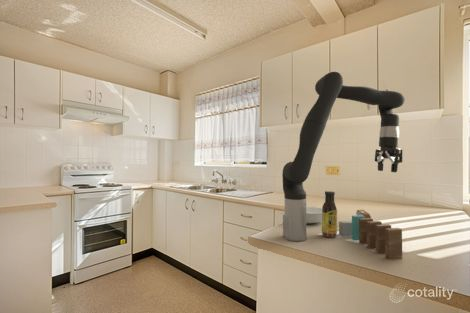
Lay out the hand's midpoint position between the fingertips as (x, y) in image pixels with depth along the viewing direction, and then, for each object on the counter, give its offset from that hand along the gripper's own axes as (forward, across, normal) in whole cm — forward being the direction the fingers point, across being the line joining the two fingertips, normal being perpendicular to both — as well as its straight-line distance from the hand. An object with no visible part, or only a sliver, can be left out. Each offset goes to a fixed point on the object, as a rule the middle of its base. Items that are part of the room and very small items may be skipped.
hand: (386, 171), depth 106 cm
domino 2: (+29, +12, -17) cm, 36 cm away
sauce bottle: (+30, +2, -27) cm, 41 cm away
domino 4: (+29, +22, -16) cm, 40 cm away
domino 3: (+29, +17, -17) cm, 38 cm away
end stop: (+30, +2, -17) cm, 34 cm away
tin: (+29, -8, -4) cm, 31 cm away
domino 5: (+29, +26, -16) cm, 42 cm away
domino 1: (+29, +8, -17) cm, 35 cm away
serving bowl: (+31, -22, -28) cm, 47 cm away
